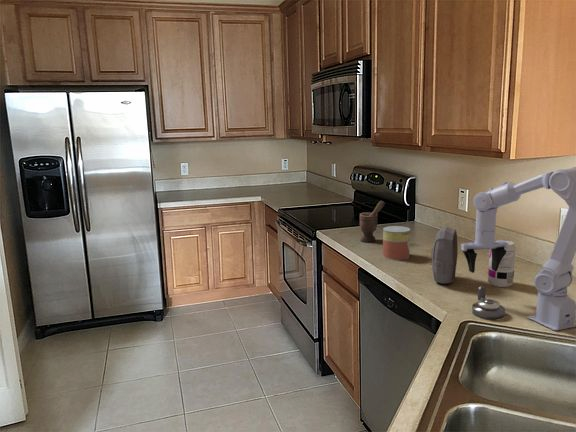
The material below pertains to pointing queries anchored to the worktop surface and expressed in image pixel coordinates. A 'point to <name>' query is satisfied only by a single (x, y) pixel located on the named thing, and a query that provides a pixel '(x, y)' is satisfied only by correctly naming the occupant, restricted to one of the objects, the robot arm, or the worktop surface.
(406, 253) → the canned food
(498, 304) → the capstan dial
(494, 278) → the supplement can
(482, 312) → the stand
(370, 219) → the mortar and pestle
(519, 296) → the worktop surface
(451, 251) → the grey rounded bag
